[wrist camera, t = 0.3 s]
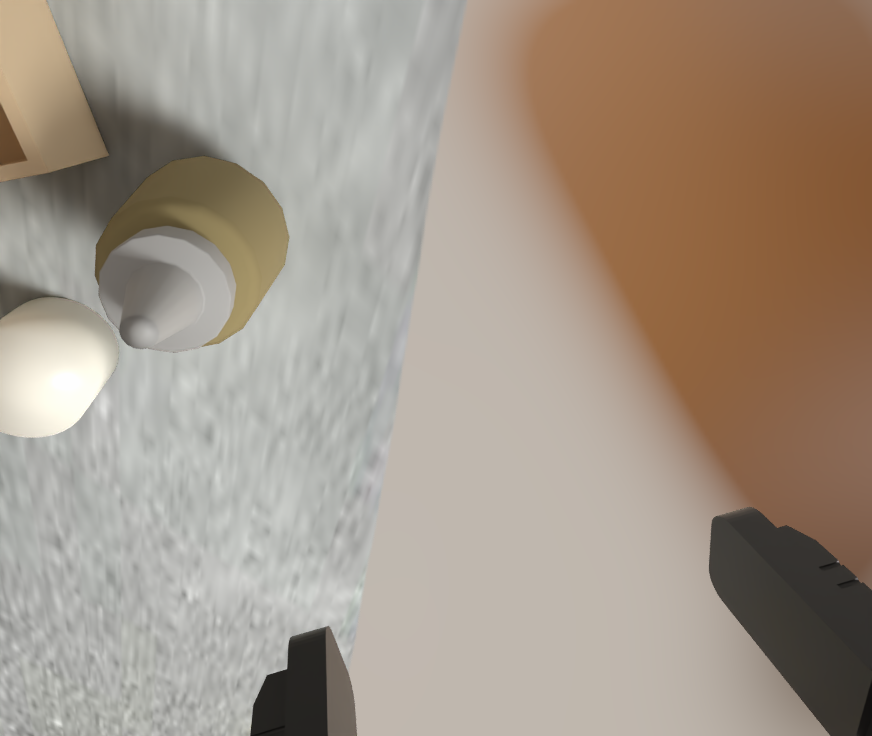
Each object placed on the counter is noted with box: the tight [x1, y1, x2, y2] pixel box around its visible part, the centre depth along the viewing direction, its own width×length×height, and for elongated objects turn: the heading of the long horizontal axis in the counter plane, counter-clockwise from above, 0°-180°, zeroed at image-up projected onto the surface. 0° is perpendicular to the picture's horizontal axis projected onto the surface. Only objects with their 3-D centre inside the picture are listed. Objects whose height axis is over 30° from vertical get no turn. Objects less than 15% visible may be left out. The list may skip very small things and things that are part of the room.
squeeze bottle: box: [95, 156, 289, 353], centre depth 26 cm, size 8×8×18 cm
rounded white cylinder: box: [0, 297, 119, 438], centre depth 33 cm, size 6×6×6 cm
